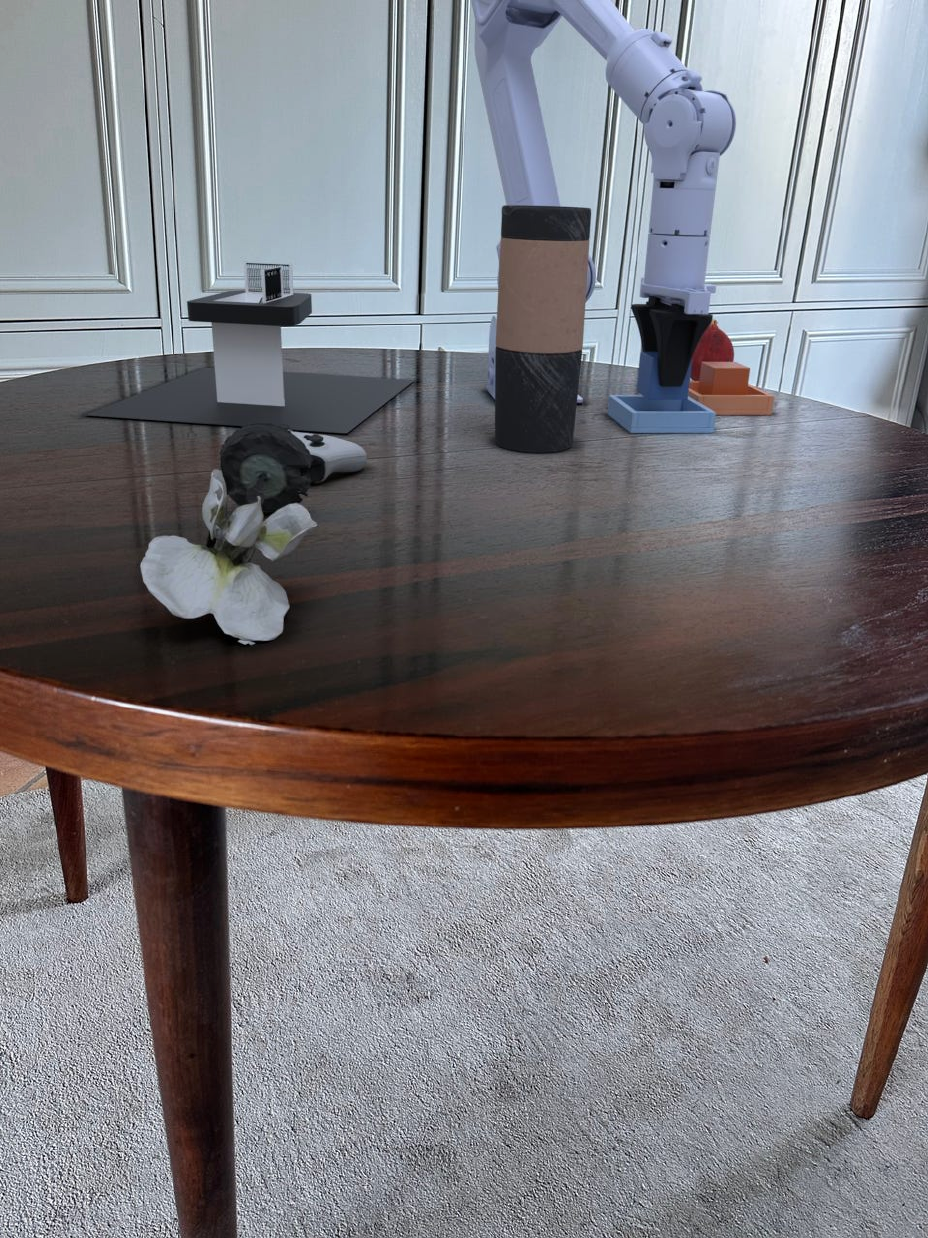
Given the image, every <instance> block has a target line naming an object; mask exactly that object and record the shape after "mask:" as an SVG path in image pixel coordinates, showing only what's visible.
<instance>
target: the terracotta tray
mask: <svg viewBox="0 0 928 1238" xmlns="http://www.w3.org/2000/svg"><path fill="white" fill-rule="evenodd" d="M698 387H699V381H693V380H690V383H689V392H688V396H689V397H690V398H692V399H694V400H695V401H697V402H699V403H701V404H702V405H704V406H706V407H707V408H709V409H711V410H713V411H714V412H716V416H772V415H773V409H774V403H775V395H773V394H771V393H770V392H767V391H764V390H763V389H760V388H758V387H756V386H754V385H752V384H750V383H748V388H747V395H701V394H699V393H698Z"/></svg>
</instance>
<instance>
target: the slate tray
mask: <svg viewBox="0 0 928 1238" xmlns="http://www.w3.org/2000/svg"><path fill="white" fill-rule="evenodd" d="M606 414H607V415H608V416H609V417H610V418H611V419H613V420H614V421H615V422H616V423H617V424H618V425H620V426H621V427H622V428H624V429H625V430H626V431H627V432H628V433H630V434H713V433H714V432H715V423H716V416H717V415H716V412H714V411H713V410H711V409H709V408H707V407H706V406H704V405H702V404H701V403H699V402H697V401H695V400H694V399H692V398H690V397H689V396H688V399H687V400H649V399H647V398H646V397H644V396H643V395H641V394H639V395H638V394H615V395H614V394H610V395H608V402H607V413H606Z"/></svg>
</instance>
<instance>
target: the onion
mask: <svg viewBox="0 0 928 1238" xmlns="http://www.w3.org/2000/svg"><path fill="white" fill-rule="evenodd" d="M718 323H719V322H718V321H717V320H716V319H715V318H713V319H712V322H711V324H710V325H709V326H708V328H707V329H706V331H705V332H704V334H703V335H702V337H701V339H700V341H699V343H698V345H697V347H696V349H695V351H694V354H693V357H692V366H691V375H690V380H691V381H699V379H700V371H701V363H702V362H735V348H734V346H733V342H732V341H731V338H730V337H729V336H728V335H727V334H726V333H725V332H724V331H723V330H722V329H721V328H720V327H719V326H718Z"/></svg>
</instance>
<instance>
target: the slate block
mask: <svg viewBox="0 0 928 1238" xmlns="http://www.w3.org/2000/svg"><path fill="white" fill-rule="evenodd" d="M638 364H639V365H638V375H637V376H638V377H637V387H636V392H637V393H638V394H639V395H643V396H644V397H646V398H647V399H649V400H687V399H688V392H689V383H690V381H691V378H690V375H691V366H692V359H691V362H690V365H689V368H688V371H687V374H686V377H685V379H684V382H683V384H682V386H681V387H663V386H660V383H659V376H658V352H642V351H640V356H639V363H638Z"/></svg>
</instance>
